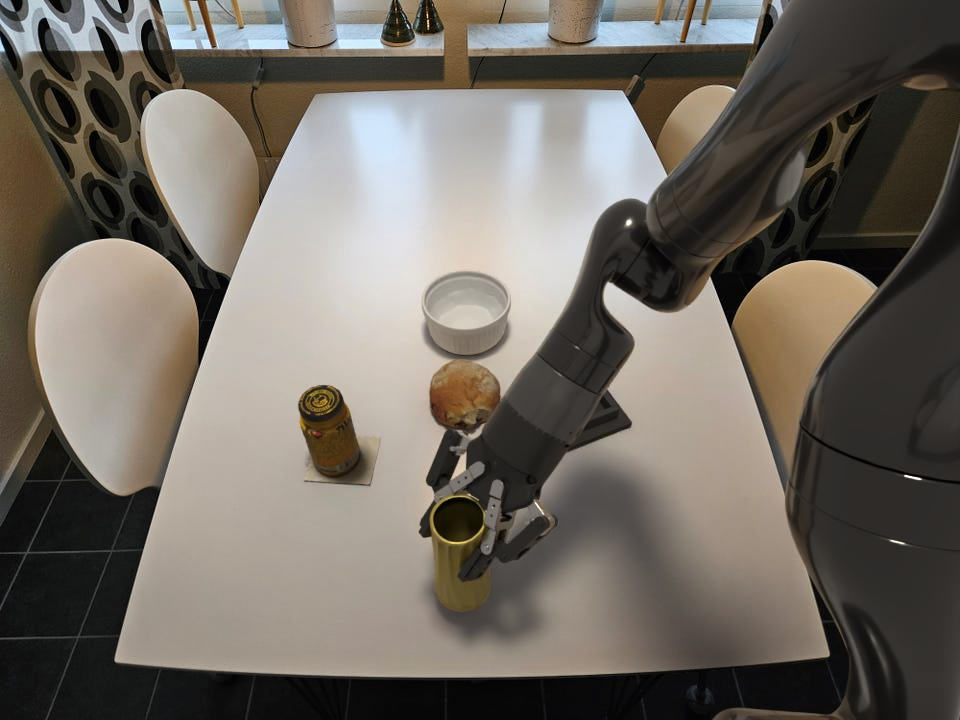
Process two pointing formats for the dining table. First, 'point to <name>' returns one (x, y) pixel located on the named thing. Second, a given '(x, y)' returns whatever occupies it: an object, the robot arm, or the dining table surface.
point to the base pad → (603, 421)
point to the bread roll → (463, 394)
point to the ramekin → (466, 310)
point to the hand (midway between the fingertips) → (445, 555)
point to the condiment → (334, 439)
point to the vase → (457, 551)
